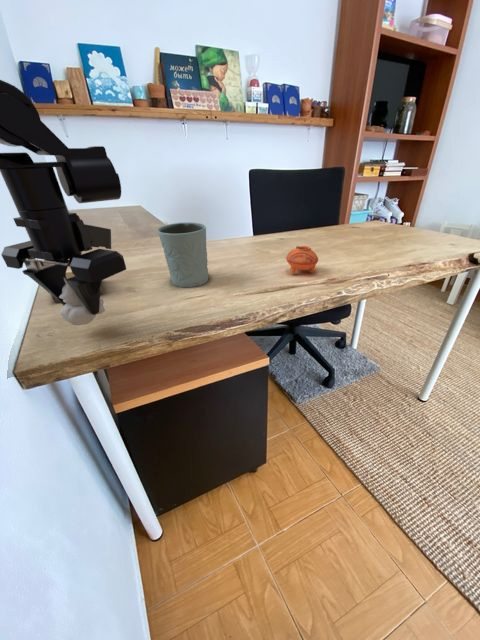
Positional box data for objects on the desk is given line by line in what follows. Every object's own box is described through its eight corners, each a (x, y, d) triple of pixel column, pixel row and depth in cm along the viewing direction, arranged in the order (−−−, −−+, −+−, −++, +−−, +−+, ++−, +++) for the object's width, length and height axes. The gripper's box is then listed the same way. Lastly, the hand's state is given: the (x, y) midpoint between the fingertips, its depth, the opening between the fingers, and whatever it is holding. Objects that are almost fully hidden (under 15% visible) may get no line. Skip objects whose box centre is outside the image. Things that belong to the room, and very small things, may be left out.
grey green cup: (209, 271, 75) (203, 221, 68) (214, 286, 67) (208, 230, 60) (168, 275, 73) (157, 224, 66) (168, 291, 65) (156, 234, 58)
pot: (278, 267, 76) (285, 240, 72) (305, 271, 78) (313, 245, 75) (289, 277, 69) (296, 247, 66) (318, 281, 72) (326, 253, 68)
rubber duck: (68, 318, 51) (48, 273, 46) (109, 311, 53) (94, 267, 48) (64, 333, 47) (42, 285, 42) (109, 324, 49) (93, 278, 44)
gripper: (138, 202, 43) (160, 300, 52) (49, 196, 49) (83, 285, 58) (72, 216, 34) (112, 330, 43) (-26, 207, 40) (27, 309, 49)
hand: (83, 310), depth 49 cm, fingers closed on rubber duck, 5 cm apart
